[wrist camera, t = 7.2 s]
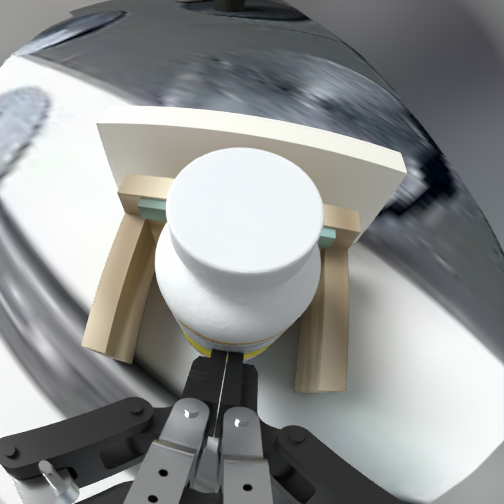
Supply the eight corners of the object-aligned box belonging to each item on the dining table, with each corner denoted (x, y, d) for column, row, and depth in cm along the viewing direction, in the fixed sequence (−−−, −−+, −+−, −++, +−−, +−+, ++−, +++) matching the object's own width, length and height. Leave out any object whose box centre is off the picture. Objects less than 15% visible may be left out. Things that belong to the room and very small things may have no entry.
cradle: (112, 358, 17) (64, 337, 11) (147, 234, 22) (126, 173, 16) (315, 393, 17) (363, 389, 11) (322, 263, 22) (358, 211, 16)
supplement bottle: (220, 257, 21) (228, 107, 10) (294, 307, 20) (382, 191, 9) (162, 325, 18) (89, 216, 7) (241, 384, 17) (285, 368, 6)
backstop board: (124, 205, 23) (96, 123, 15) (132, 188, 24) (109, 106, 16) (354, 243, 23) (407, 173, 16) (353, 224, 24) (400, 153, 17)
